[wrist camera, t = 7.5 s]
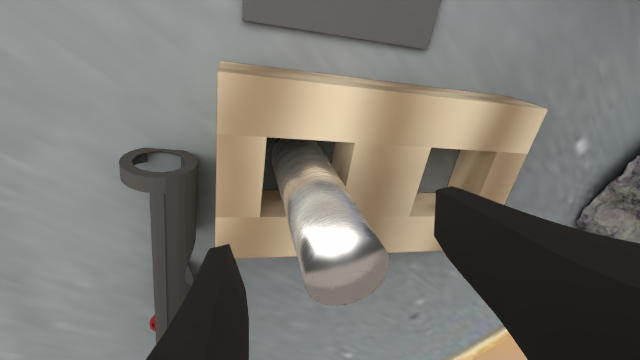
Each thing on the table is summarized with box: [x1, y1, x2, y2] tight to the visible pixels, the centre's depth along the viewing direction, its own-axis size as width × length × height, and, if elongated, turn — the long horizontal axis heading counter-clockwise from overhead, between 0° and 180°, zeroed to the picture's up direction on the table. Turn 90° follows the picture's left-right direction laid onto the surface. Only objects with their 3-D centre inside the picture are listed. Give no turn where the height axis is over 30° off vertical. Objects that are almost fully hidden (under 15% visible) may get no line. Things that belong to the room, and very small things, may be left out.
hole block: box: [215, 61, 548, 259], centre depth 20 cm, size 18×10×3 cm, turn 81°
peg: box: [271, 138, 389, 305], centre depth 15 cm, size 3×3×10 cm
